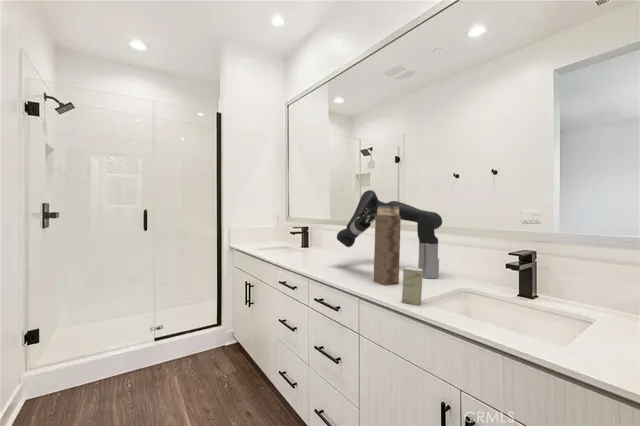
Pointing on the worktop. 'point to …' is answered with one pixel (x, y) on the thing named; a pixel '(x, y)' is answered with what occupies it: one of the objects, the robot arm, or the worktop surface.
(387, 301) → the worktop surface
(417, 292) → the skincare box
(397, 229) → the walnut stand
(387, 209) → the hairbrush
